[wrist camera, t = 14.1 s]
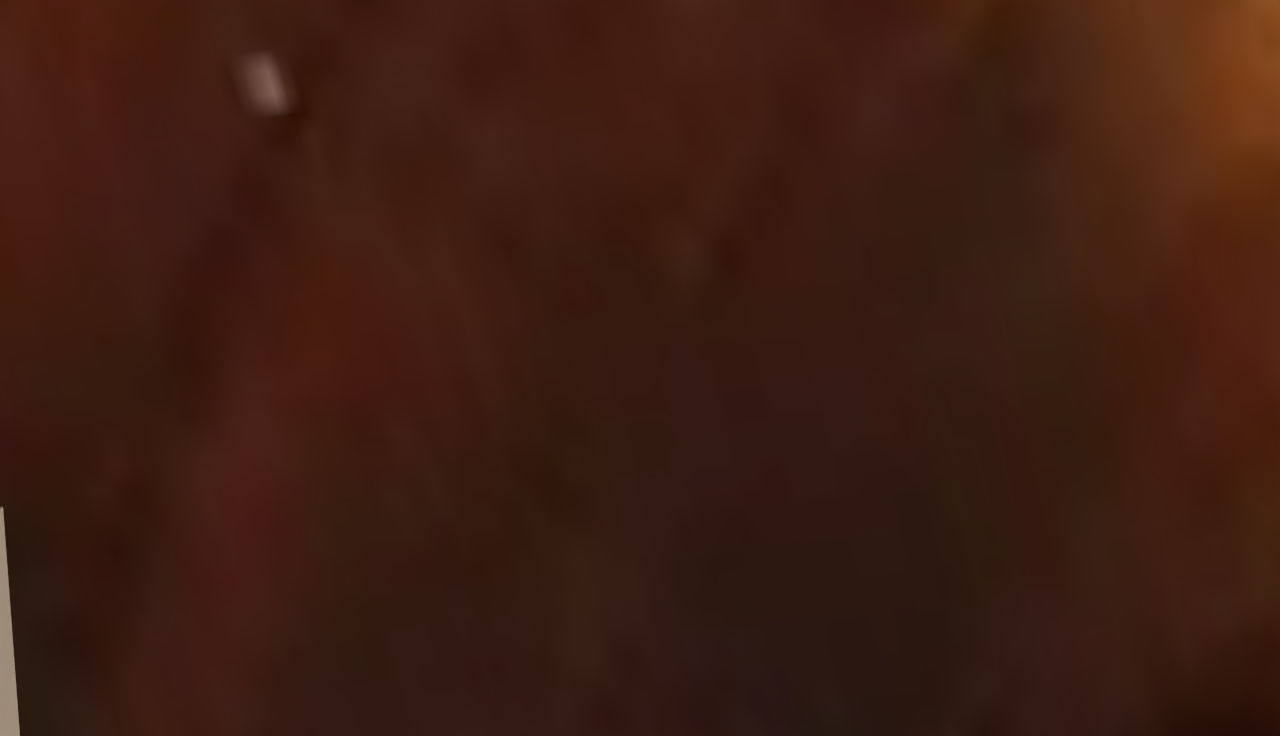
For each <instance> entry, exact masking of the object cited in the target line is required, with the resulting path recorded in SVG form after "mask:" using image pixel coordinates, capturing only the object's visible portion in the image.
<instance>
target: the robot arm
mask: <svg viewBox="0 0 1280 736" xmlns="http://www.w3.org/2000/svg"><path fill="white" fill-rule="evenodd" d="M0 736H20V732H19V719H18V705H17V692H16V678H15V665H14V651H13V638H12V624H11V611H10V597H9V584H8V570H7V557H6V543H5V530H4V516H3V507H0Z"/></svg>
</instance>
